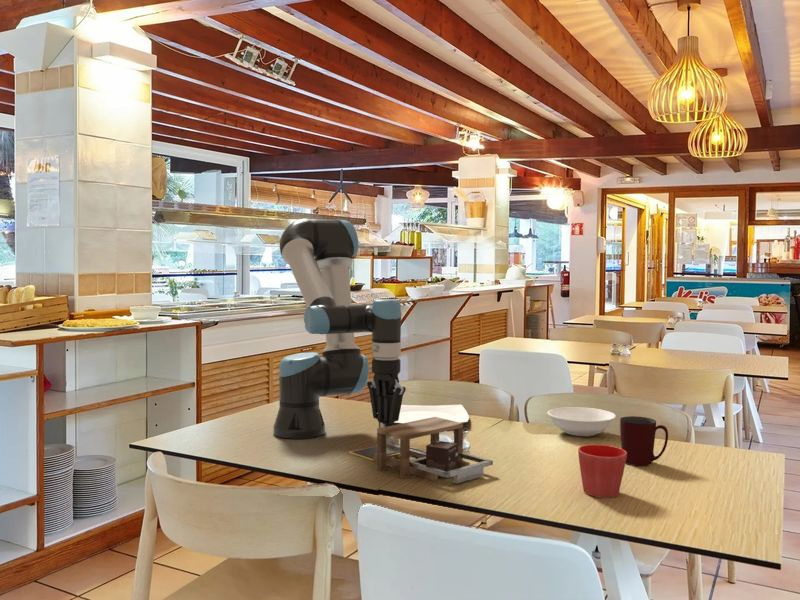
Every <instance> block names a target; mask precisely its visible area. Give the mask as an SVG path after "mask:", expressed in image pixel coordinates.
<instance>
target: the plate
mask: <svg viewBox="0 0 800 600" xmlns="http://www.w3.org/2000/svg"><path fill="white" fill-rule="evenodd" d="M432 417H438V418H442V419H447V420H451V421H455V422H459V423H463V426H465V425H466V424H468V422H469V420H470V416H469V414H468V412H467V410H466V408H465V407H464V406H463V404H444V405H443V404H441V405H420V404H419V405H412V404H407V405H406V404H401V409H400V414H399V420H398V421H395V422H393V425H397V424H402V423H407V422H412V421H417V420H422V419H427V418H432Z"/></svg>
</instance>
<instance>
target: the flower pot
mask: <svg viewBox="0 0 800 600" xmlns="http://www.w3.org/2000/svg"><path fill="white" fill-rule="evenodd" d="M577 451H578V462H579V463H578V464H579V472H580V477H581V482H582V490H583V492H584V493H585V494H586V495H589V496H593V497H596V498H602V499H605V498H607V499H608V498H614V497H617V496H618V495H619V494H620V491H621V490H620V489H621V485H622V481H623V478H624V477H623V476H624V472H625V467H626V466H625V465H626V458H627V452H626V451H625V450H623V449H621V447H617V446H614V445H606V444H585V445H581V446H579V447H578V449H577Z"/></svg>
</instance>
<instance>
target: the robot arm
mask: <svg viewBox="0 0 800 600" xmlns="http://www.w3.org/2000/svg"><path fill="white" fill-rule="evenodd" d="M278 247H279V252H280V255H281V258H282V259H283V261H284V263H286V264H288V265H289V267H290V269H291V273H292V274H293V277H294V280H295V282H296V285H297V286H298V288H299V291H300V293H301V296H302V298H303V300H304V303H305V305H306V308H305V310H304V312H303V313H304V314H303V322H304V328H305V330H306V331H307V332H308V333H309V334H312V335H325V342H326V343H325V344H326V346H325V347H324V349H323V350H322V351H321V353H322V354H321V355H322V356H320V354H319V353H318V352H312V351H310V352H300V353H294V354H290V355H287V356H284V357H283V358H282V359H281V360H280V362H279V371H278V377H279V378H278V379H279V380H278V381H279V382H278V383H279V385H278V386H279V388H278V389H279V393H278V394H279V396H278V397H279V398H278V399H279V402H278V403H279V405H278V406H279V408H278V411H277V415H276V417H275V421H274V424H273V427H272V428H273V429H272V430H273V435H274V436H275V437H278V438H281V439H289V440H290V439H292V440H293V439H294V440H297V439H298V440H299V439H301V440H302V439H303V440H304V439H312V438H317V437H320V436H323V435H324V434H325V433H326V425H325V421H324V418H323V414H322V411H321V408H320V397H327V396H328V397H331V396H342V395H346V396H347V395H348V396H350V395H352V394H358V393H361V392H362V391H364V390H365V388H366V386H367V388H368V390H369V397H370V403H371V412H372V416H373V419H376V420H377V421H378V428H383V427H388V426H393V422H395V421H398V420H399V414H400V409H401V405H403V404H402V402H403V397H404V395H405V392H406V391H407V388H406V386H402V385H401V384H400V380H399V374H401V373H400V372H401V359H400V357H401V355H402V354H401V353H402V352H401V348H402V346H401V345H402V343H401V339H402V338H401V337H402V334H401V332H402V328H401V327H402V308H401V306H402V305H401V302H400V301H399V300H398V299H394V298H377V299H374V300H373V301H372V303H362V304H352V296H351V295H352V293H351V282H350V271H349V270H350V269H349V267H350V265H351V264H352V263H353V262H354V261H353V259H354V257H356V255H357V254H358V251H359V248H358V247H359V237H358V232H357V230H356V228H355V225H353V224H352V222H350V221H349V220H345V219H339V218H335V219H330V218H329V219H327V218H319V219H318V218H301V219H297V220H294V221H293V222H292V223H290V224H289V225H288V226H286V228H285V229H284V231H283V232H282V234H281V235H280V239H279V246H278ZM355 333H357V334H358V333H371V334H372V335H371V342H372V343H371V356H372V357H373V358H372V359H371V373H373V374H374V375H373V378H372V380H371V381H369V377H370V362H369V361H368V357H367V356H366V355H365V354H364V353H363V354H361V347H359V346H358V345H357V344H356V343H355V342H356V340H355ZM387 437H391V436H387V435H386V438H387Z"/></svg>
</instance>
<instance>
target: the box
mask: <svg viewBox="0 0 800 600" xmlns="http://www.w3.org/2000/svg"><path fill="white" fill-rule="evenodd" d="M425 450H426V466H430V467H433V468H436V469H440V470H443V471H446V472H447V471H451V470H454V469H458V443H454V442H452V441H450V442H449V441H441V440H439V441H435V442H432V443H431V442H430V443H428V444H427V445H426V446H425ZM438 478H442V479H447V478H446V477H443V476H439V475H438Z"/></svg>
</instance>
